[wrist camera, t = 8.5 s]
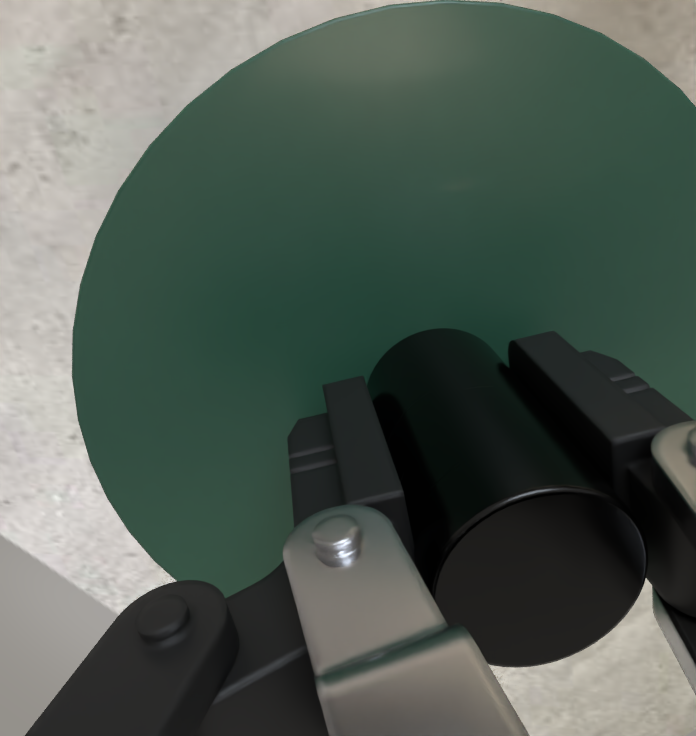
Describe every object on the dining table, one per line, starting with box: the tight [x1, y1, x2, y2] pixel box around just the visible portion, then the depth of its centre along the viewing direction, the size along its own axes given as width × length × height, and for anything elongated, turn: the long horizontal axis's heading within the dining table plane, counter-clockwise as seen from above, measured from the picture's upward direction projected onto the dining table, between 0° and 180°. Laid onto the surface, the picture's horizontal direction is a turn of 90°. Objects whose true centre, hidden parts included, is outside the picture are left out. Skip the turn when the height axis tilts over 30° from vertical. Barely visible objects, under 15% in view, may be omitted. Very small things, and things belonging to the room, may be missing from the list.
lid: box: [72, 0, 696, 667], centre depth 10 cm, size 13×13×6 cm
